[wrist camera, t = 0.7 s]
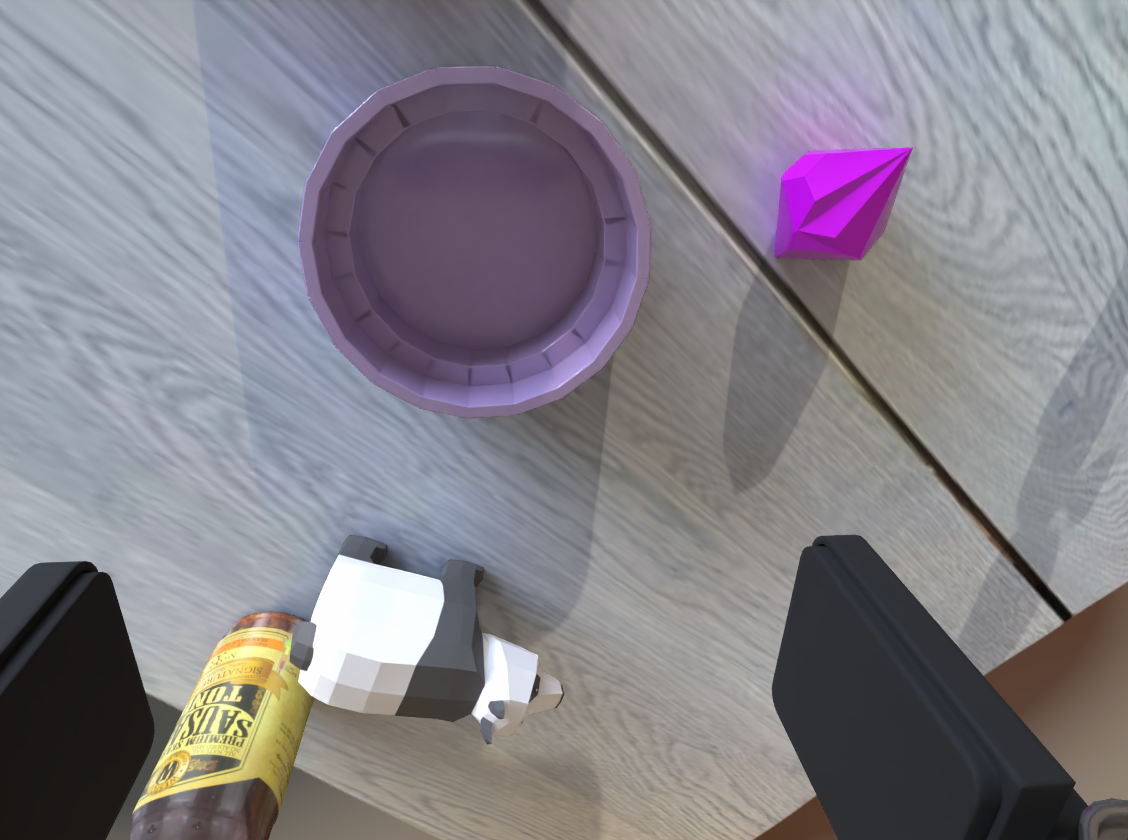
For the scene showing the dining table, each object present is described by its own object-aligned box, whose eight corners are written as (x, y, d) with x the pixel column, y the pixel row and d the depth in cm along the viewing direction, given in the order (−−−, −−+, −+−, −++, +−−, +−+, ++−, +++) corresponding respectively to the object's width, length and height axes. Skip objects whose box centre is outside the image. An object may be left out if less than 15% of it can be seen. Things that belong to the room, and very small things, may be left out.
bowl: (499, -7, 29) (503, -26, 24) (680, 257, 35) (713, 286, 30) (260, 210, 32) (219, 233, 27) (465, 422, 37) (463, 473, 32)
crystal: (764, 152, 33) (805, 161, 29) (873, 134, 33) (929, 141, 29) (765, 259, 35) (802, 282, 31) (867, 242, 36) (918, 262, 31)
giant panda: (305, 594, 41) (260, 728, 33) (329, 520, 39) (288, 642, 30) (533, 648, 45) (546, 780, 36) (566, 583, 43) (588, 706, 34)
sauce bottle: (290, 589, 41) (145, 978, 23) (347, 658, 44) (256, 1053, 26) (194, 631, 41) (-20, 1042, 24) (256, 696, 44) (106, 1109, 26)
